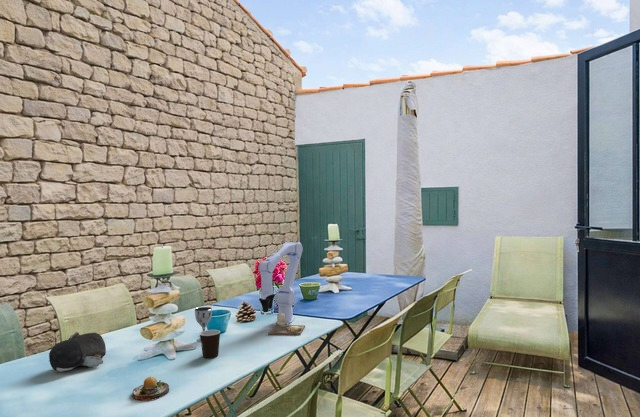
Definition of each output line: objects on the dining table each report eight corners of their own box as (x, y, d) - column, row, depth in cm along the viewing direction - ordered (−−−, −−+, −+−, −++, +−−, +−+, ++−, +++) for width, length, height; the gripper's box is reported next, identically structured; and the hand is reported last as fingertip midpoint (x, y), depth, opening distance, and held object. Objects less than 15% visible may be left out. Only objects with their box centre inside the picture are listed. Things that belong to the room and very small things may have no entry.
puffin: (109, 373, 184) (119, 346, 182) (61, 391, 165) (72, 360, 163) (81, 348, 192) (91, 321, 190) (33, 361, 173) (43, 332, 171)
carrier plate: (275, 326, 230) (275, 321, 230) (305, 327, 227) (304, 321, 227) (268, 334, 216) (268, 328, 216) (299, 335, 214) (299, 329, 214)
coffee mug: (218, 359, 183) (217, 335, 183) (197, 359, 183) (196, 335, 183) (224, 350, 195) (224, 327, 194) (205, 350, 195) (204, 328, 195)
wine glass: (214, 337, 214) (214, 306, 214) (209, 342, 206) (208, 310, 206) (199, 337, 215) (198, 306, 215) (192, 342, 207) (192, 310, 207)
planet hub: (278, 327, 225) (278, 313, 225) (286, 327, 225) (285, 313, 225) (276, 329, 221) (276, 315, 222) (284, 329, 221) (284, 315, 221)
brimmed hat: (173, 386, 157) (172, 365, 157) (162, 400, 145) (162, 378, 145) (139, 387, 157) (139, 366, 157) (126, 402, 145) (125, 380, 145)
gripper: (263, 281, 235) (264, 306, 235) (255, 286, 221) (256, 313, 221) (276, 281, 234) (276, 306, 234) (268, 286, 219) (269, 313, 220)
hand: (267, 310), depth 227 cm, fingers open, 7 cm apart
